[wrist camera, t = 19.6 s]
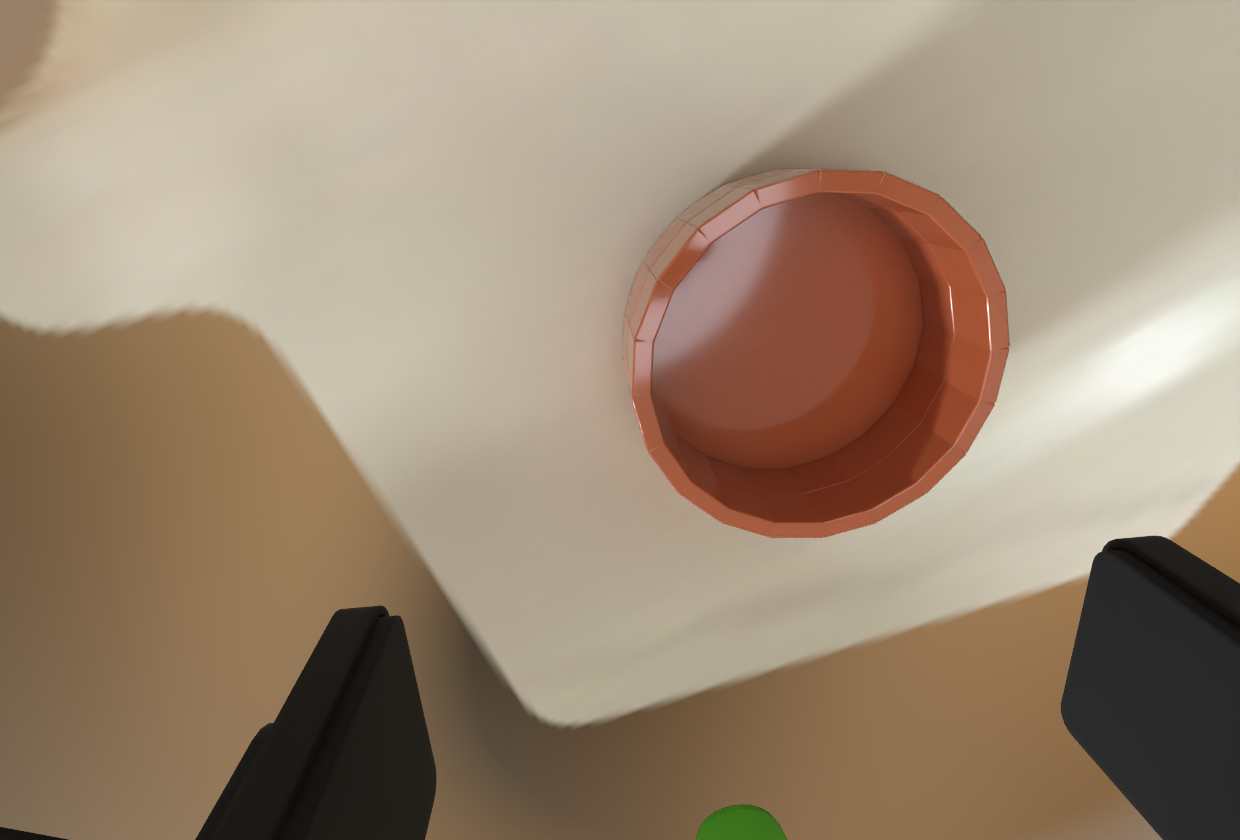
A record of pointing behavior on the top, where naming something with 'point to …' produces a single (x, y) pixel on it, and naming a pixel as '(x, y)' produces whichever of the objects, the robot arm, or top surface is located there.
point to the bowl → (814, 348)
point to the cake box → (23, 835)
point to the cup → (740, 825)
